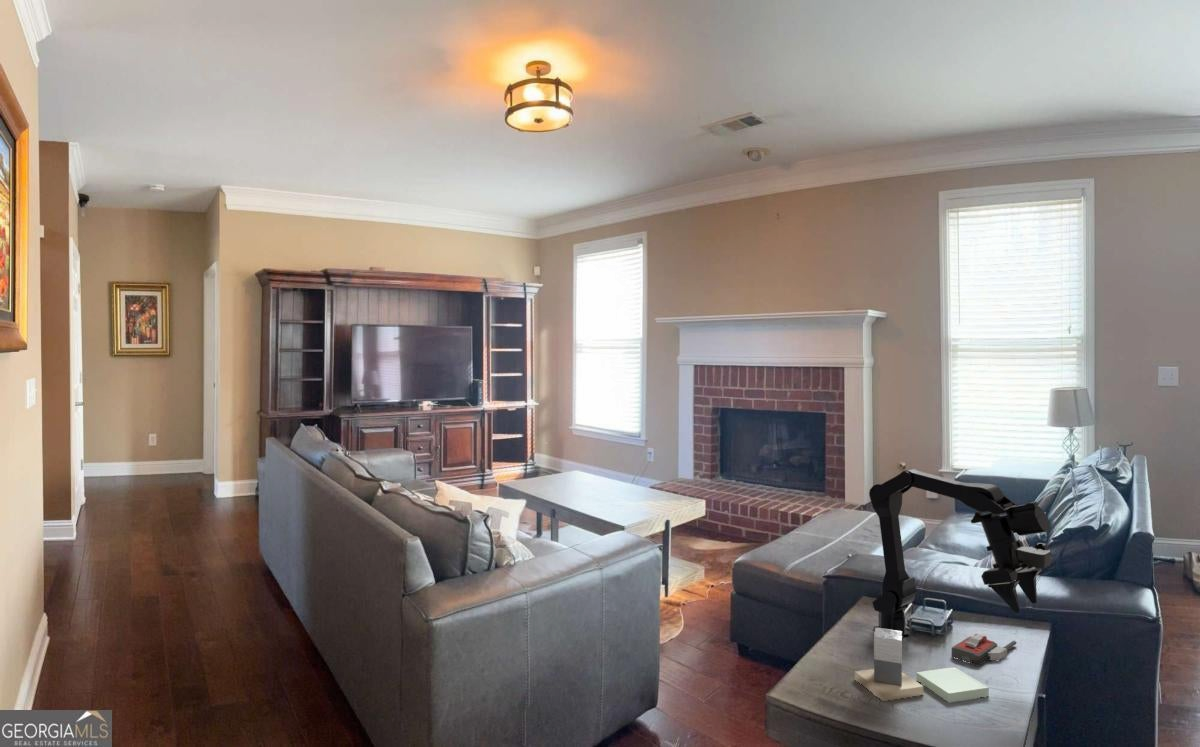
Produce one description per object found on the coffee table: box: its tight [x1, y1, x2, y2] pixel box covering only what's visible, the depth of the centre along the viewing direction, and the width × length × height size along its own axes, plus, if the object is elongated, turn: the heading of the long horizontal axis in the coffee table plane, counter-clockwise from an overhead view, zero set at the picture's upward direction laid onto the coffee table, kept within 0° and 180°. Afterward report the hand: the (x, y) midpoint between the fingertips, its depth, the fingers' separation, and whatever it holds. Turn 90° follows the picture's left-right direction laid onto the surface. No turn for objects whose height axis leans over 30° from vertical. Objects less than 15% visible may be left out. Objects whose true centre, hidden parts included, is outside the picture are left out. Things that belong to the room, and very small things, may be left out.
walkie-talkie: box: [951, 633, 1017, 666], centre depth 168 cm, size 9×4×20 cm
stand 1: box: [854, 668, 924, 702], centre depth 151 cm, size 10×10×2 cm
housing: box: [873, 627, 903, 687], centre depth 151 cm, size 6×6×10 cm
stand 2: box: [915, 666, 990, 704], centre depth 150 cm, size 10×10×2 cm
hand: (1026, 607), depth 155 cm, fingers open, 9 cm apart
